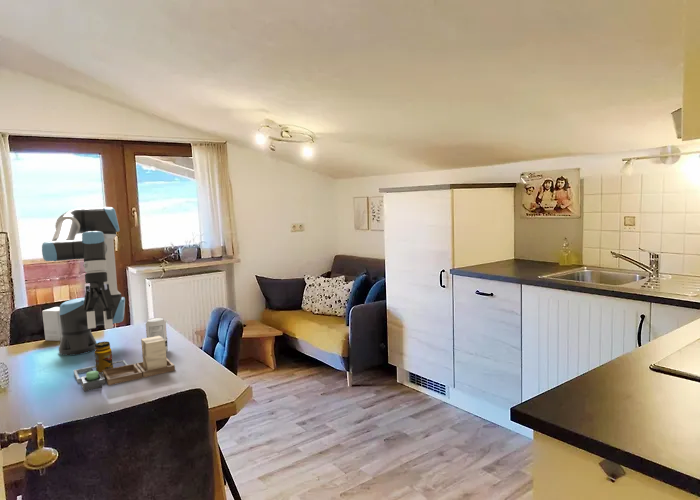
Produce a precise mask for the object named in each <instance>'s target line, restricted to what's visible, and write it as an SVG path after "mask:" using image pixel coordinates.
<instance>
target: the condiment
mask: <svg viewBox="0 0 700 500" xmlns="http://www.w3.org/2000/svg"><path fill="white" fill-rule="evenodd" d="M94 362H95V366H96V367H95V371H98V373H103V371H102V370H106V369H110V368H114V364H113V362H114V361H113V351H112V348H111V343H110V342H109V341H99V342H96V344H95V350H94Z"/></svg>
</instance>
